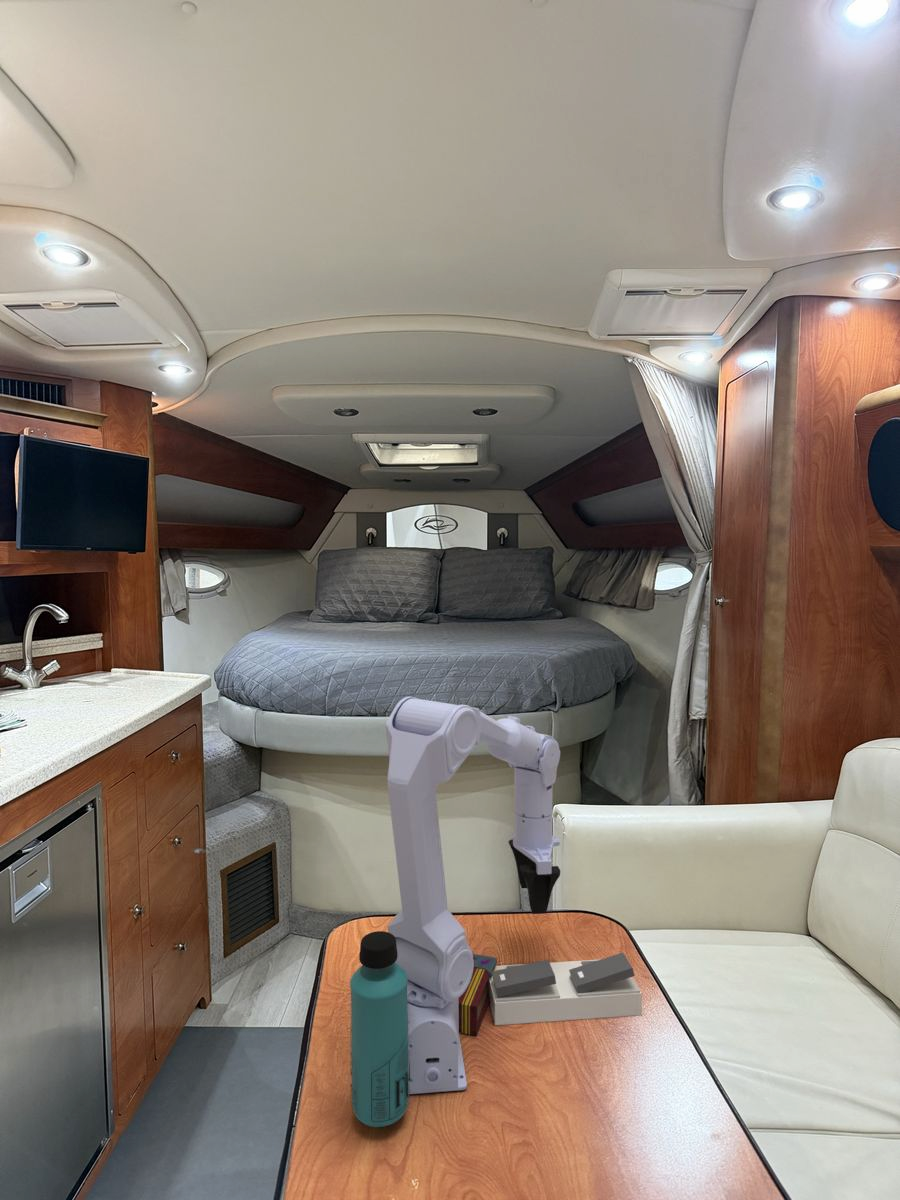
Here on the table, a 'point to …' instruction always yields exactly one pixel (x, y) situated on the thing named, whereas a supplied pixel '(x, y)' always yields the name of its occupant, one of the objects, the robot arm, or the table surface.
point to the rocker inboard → (523, 977)
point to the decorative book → (476, 995)
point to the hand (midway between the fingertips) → (532, 899)
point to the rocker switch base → (564, 999)
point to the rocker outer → (601, 973)
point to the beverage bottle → (379, 1033)
